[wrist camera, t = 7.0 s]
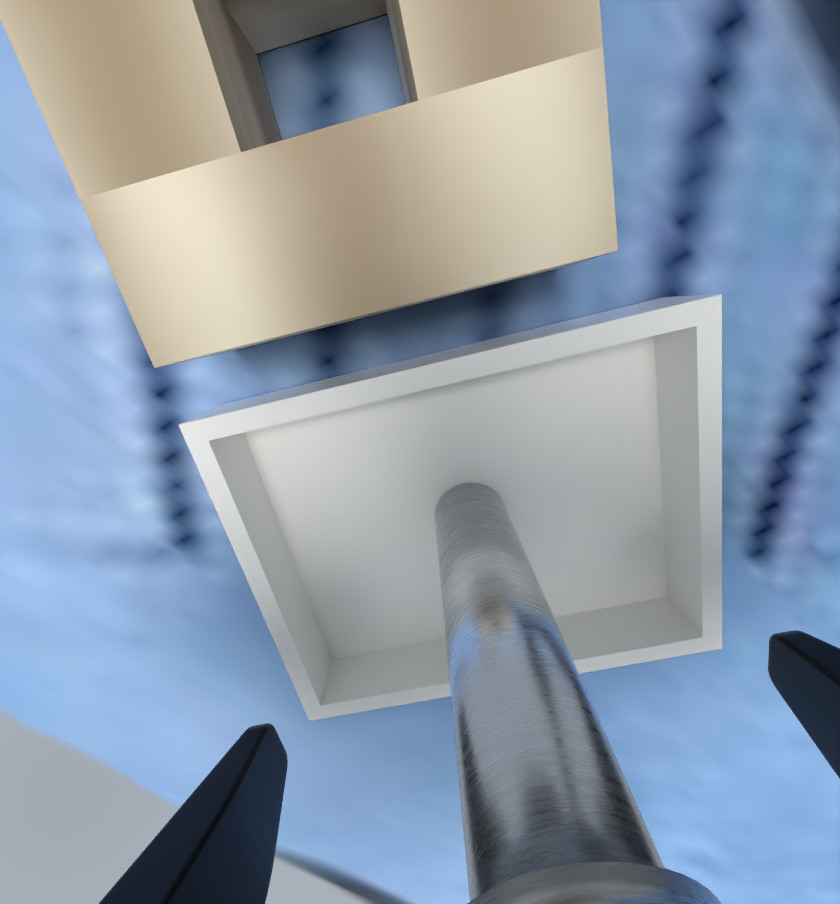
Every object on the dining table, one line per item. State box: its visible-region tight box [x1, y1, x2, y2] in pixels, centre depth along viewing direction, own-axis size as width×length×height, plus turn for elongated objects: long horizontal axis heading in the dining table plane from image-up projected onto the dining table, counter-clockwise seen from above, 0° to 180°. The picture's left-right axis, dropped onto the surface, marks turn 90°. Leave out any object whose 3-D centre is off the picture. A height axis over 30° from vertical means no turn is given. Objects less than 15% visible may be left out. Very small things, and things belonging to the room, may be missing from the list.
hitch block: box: [0, 0, 618, 368], centre depth 9 cm, size 10×10×4 cm
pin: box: [435, 483, 721, 904], centre depth 9 cm, size 3×3×11 cm
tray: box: [179, 294, 722, 721], centre depth 13 cm, size 14×11×2 cm
